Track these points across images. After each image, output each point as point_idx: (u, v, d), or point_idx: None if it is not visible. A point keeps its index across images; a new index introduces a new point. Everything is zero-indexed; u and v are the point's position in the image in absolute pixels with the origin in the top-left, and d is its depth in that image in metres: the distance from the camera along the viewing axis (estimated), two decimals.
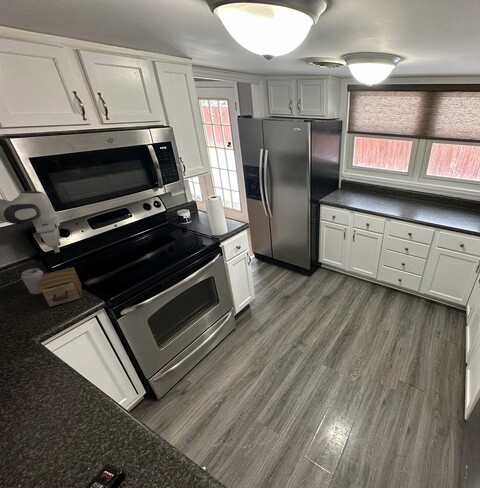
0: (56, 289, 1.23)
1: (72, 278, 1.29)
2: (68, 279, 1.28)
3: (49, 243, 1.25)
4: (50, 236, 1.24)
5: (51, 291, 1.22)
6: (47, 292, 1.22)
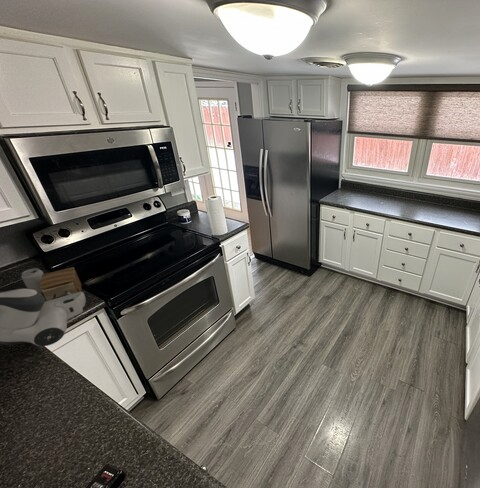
0: (56, 289, 1.23)
1: (72, 278, 1.29)
2: (68, 279, 1.28)
3: None
4: (82, 299, 1.09)
5: (51, 291, 1.22)
6: (47, 292, 1.22)
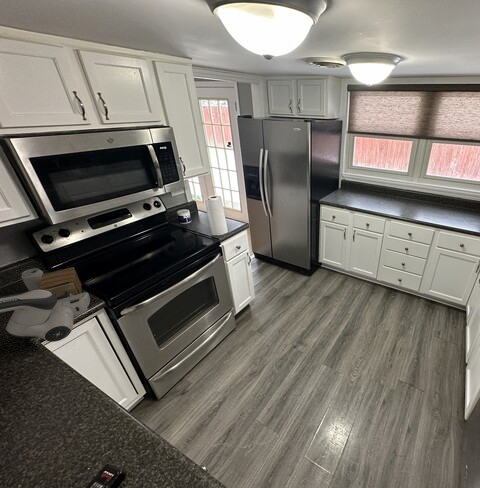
0: (56, 289, 1.23)
1: (72, 278, 1.29)
2: (68, 279, 1.28)
3: (89, 297, 1.24)
4: (87, 299, 1.21)
5: (51, 291, 1.22)
6: None
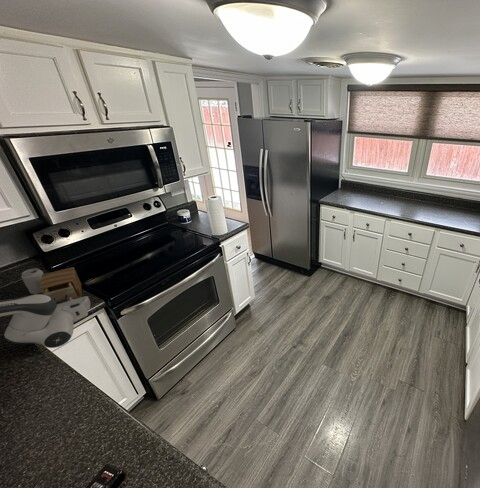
0: (56, 293, 1.21)
1: (72, 278, 1.29)
2: (68, 279, 1.28)
3: (89, 301, 1.21)
4: (87, 303, 1.18)
5: (51, 295, 1.20)
6: None
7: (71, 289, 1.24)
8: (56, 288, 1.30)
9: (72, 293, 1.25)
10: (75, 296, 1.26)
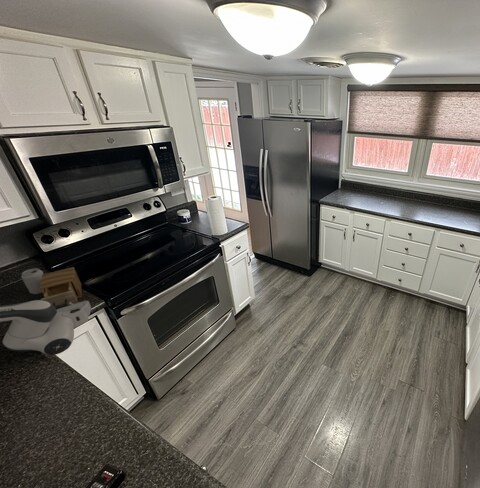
0: (55, 297, 1.18)
1: (72, 278, 1.29)
2: (68, 279, 1.28)
3: (90, 306, 1.18)
4: (88, 308, 1.15)
5: (50, 299, 1.17)
6: (46, 300, 1.16)
7: (71, 293, 1.21)
8: (56, 292, 1.27)
9: (72, 297, 1.22)
10: (75, 300, 1.23)
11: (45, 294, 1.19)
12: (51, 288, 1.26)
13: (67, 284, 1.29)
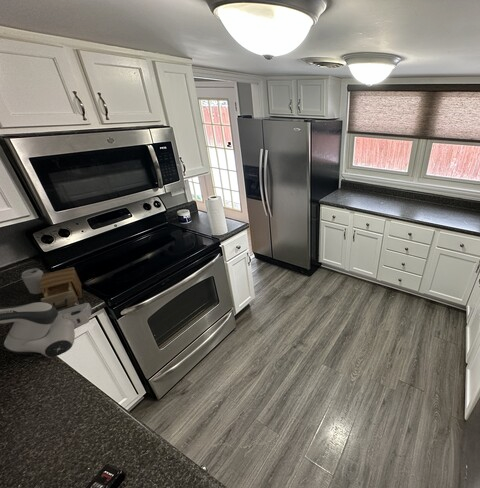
0: (55, 297, 1.18)
1: (72, 278, 1.29)
2: (68, 279, 1.28)
3: (90, 308, 1.19)
4: (88, 310, 1.16)
5: (50, 299, 1.17)
6: (46, 300, 1.16)
7: (71, 293, 1.21)
8: (56, 292, 1.27)
9: (72, 297, 1.22)
10: (75, 300, 1.23)
11: (45, 294, 1.19)
12: (51, 288, 1.26)
13: (67, 284, 1.29)
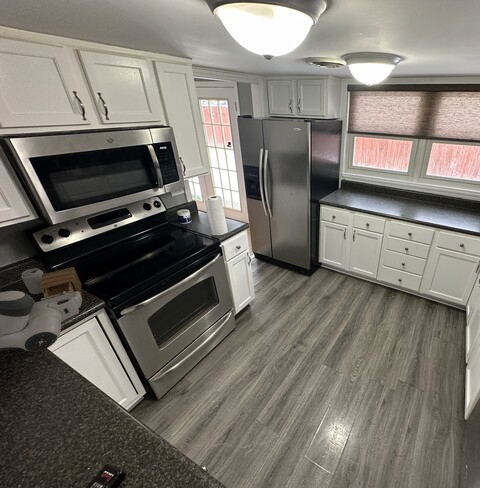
0: None
1: (72, 278, 1.29)
2: (68, 279, 1.28)
3: (81, 297, 1.06)
4: (78, 299, 1.03)
5: None
6: None
7: None
8: (56, 292, 1.27)
9: None
10: None
11: (45, 294, 1.19)
12: (51, 288, 1.26)
13: (67, 284, 1.29)
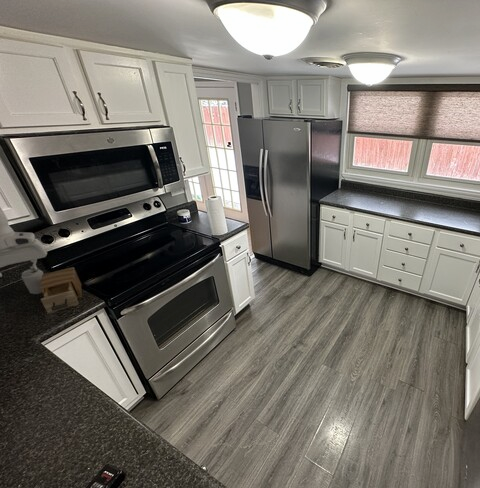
0: (55, 297, 1.18)
1: (72, 278, 1.29)
2: (68, 279, 1.28)
3: (45, 250, 1.05)
4: (40, 242, 1.04)
5: (50, 299, 1.17)
6: (46, 300, 1.16)
7: (71, 293, 1.21)
8: (56, 292, 1.27)
9: (72, 297, 1.22)
10: (75, 300, 1.23)
11: (45, 294, 1.19)
12: (51, 288, 1.26)
13: (67, 284, 1.29)
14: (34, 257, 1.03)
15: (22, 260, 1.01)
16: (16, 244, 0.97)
